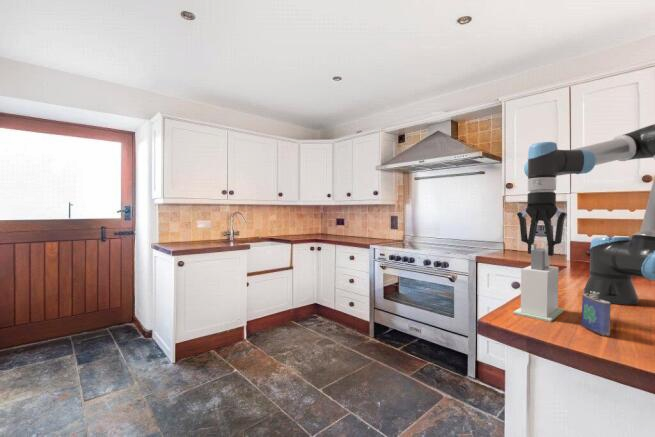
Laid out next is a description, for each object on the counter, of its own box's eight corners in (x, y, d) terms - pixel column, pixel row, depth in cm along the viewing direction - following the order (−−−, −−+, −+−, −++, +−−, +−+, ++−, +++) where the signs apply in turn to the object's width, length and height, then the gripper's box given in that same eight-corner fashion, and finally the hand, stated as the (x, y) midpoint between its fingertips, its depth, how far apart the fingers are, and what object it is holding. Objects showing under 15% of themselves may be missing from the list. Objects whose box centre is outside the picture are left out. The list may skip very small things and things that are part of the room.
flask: (612, 337, 81) (613, 296, 81) (599, 336, 82) (600, 295, 82) (588, 324, 91) (589, 287, 90) (577, 324, 91) (577, 287, 91)
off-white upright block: (557, 308, 103) (558, 248, 103) (546, 317, 95) (547, 252, 94) (533, 303, 109) (534, 247, 108) (520, 311, 100) (521, 250, 99)
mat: (563, 310, 103) (563, 308, 103) (550, 322, 93) (550, 319, 92) (528, 303, 111) (528, 302, 111) (513, 313, 100) (513, 311, 100)
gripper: (509, 192, 104) (508, 263, 105) (570, 190, 92) (568, 270, 93) (517, 193, 109) (516, 260, 110) (575, 191, 97) (574, 267, 98)
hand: (540, 264), depth 101 cm, fingers closed on off-white upright block, 3 cm apart
